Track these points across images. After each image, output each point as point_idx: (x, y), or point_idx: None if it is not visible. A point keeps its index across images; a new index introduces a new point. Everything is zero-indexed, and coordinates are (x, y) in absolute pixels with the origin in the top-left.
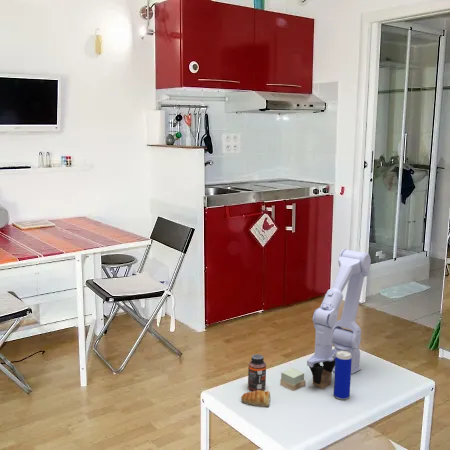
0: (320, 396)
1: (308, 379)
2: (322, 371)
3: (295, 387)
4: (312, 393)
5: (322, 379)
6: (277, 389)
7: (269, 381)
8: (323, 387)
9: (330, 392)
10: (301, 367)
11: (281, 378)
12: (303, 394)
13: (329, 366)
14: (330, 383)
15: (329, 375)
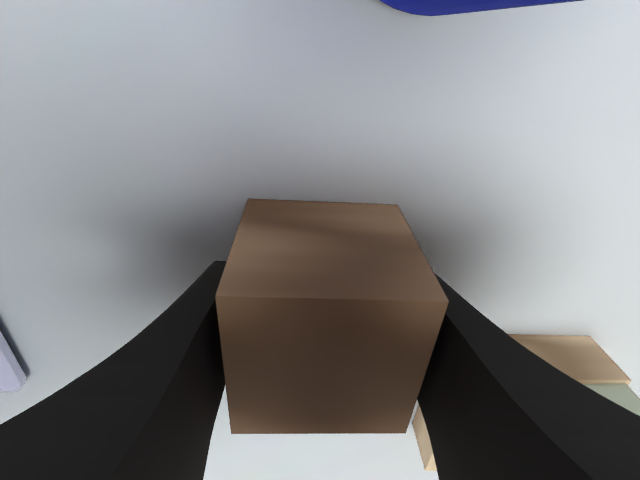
0: (589, 116)
1: None
2: (295, 389)
3: (584, 354)
4: (558, 216)
5: (428, 279)
6: None
7: None
8: (389, 210)
9: (421, 89)
10: (205, 473)
11: None
12: (618, 257)
13: (177, 428)
14: (259, 208)
15: (278, 278)
